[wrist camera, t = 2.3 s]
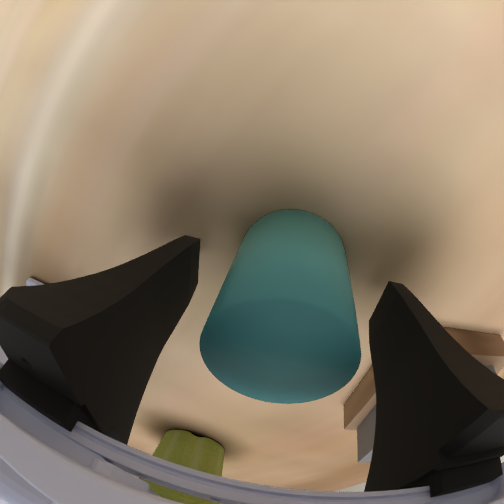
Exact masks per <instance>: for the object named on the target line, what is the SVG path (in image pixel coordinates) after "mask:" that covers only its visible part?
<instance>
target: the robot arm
mask: <svg viewBox="0 0 504 504" xmlns="http://www.w3.org/2000/svg"><path fill="white" fill-rule="evenodd" d="M199 252H200V239H199V238H195V237H190V236H186V235H185V236H182V237H180V238H178V239H176V240H173V241H171V242H169V243H167V244H165V245H163V246H161V247H159V248H157V249H155V250H153V251H151V252H149V253H147V254H145V255H142V256H140V257H138V258H136V259H133V260H131V261H129V262H126V263H124V264H122V265H119V266H116V267H114V268H111V269H108V270H105V271H102V272H99V273H96V274H92V275H88V276H84V277H80V278H77V279H73V280H68V281H63V282H57V283H51V284H43V283H41V282H39V281H37V280H34V279H32V278H28V279H27V280H26V285H27V286H21V287H11V288H10V289H9V290H8V291H7V292H6V293H5V294H4V295H3V296H1V297H0V504H183V503H179V502H176V501H172V500H169V499H166V498H162V497H161V496H159V495H158V494H156V493H155V492H153V491H152V490H151V489H150V485H149V483H147V482H145V481H143V480H141V479H139V478H137V477H140V478H142V479H145V480H147V481H150V482H152V483H155V484H158V485H161V486H163V487H166V488H169V489H172V490H175V491H178V492H181V493H185V494H188V495H191V496H195V497H198V498H202V499H206V500H210V501H214V502H218V503H222V504H504V462H503V463H501V461H500V457H502V456H503V455H504V379H502V378H501V377H499V376H498V375H496V374H495V373H493V372H492V371H491V370H489V369H488V368H487V367H485V366H484V365H483V364H482V363H480V362H479V361H478V360H477V359H475V358H474V357H473V356H472V355H471V354H470V353H469V352H467V351H466V350H465V349H464V348H463V347H462V346H461V345H460V344H459V343H458V342H457V341H456V340H455V339H454V338H453V337H452V336H451V335H450V334H449V333H448V332H447V331H446V330H445V329H444V328H443V327H442V326H441V325H440V323H439V322H438V321H437V320H436V319H435V318H434V317H433V316H432V315H431V313H430V312H429V311H428V310H427V309H426V308H425V307H424V306H423V304H422V303H421V302H420V301H419V300H418V299H417V298H416V297H415V296H414V295H413V294H412V293H411V291H409V290H408V289H407V288H406V287H405V286H404V285H403V284H400V283H396V282H391V281H388V284H387V286H386V288H385V290H384V292H383V294H382V296H381V298H380V300H379V302H378V304H377V306H376V308H375V310H374V312H373V314H372V316H371V318H370V320H369V344H370V351H371V359H372V366H373V373H374V381H375V390H376V424H375V435H374V445H373V452H372V458H371V464H370V469H369V474H368V478H367V482H366V486H365V490H364V492H327V491H310V490H298V489H289V488H280V487H273V486H266V485H260V484H254V483H249V482H244V481H239V480H234V479H229V478H225V477H221V476H217V475H213V474H209V473H205V472H201V471H198V470H194V469H191V468H188V467H184V466H181V465H178V464H175V463H172V462H169V461H166V460H163V459H161V458H158V457H155V456H153V455H150V454H147V453H145V452H142V451H140V450H137V449H135V448H133V447H130V446H128V445H127V443H128V439H129V436H130V433H131V429H132V426H133V423H134V419H135V416H136V413H137V411H138V408H139V405H140V402H141V399H142V396H143V394H144V391H145V388H146V386H147V383H148V381H149V378H150V376H151V373H152V371H153V369H154V366H155V364H156V362H157V359H158V357H159V355H160V353H161V351H162V349H163V347H164V345H165V344H166V342H167V340H168V339H169V337H170V335H171V334H172V332H173V330H174V329H175V327H176V325H177V323H178V322H179V320H180V318H181V317H182V315H183V313H184V312H185V310H186V308H187V307H188V305H189V303H190V300H191V298H192V296H193V293H194V291H195V289H196V286H197V284H198V269H199ZM127 472H128V473H127ZM129 473H130V474H129ZM131 474H132V475H131ZM133 475H135V476H137V477H135V476H133Z"/></svg>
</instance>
